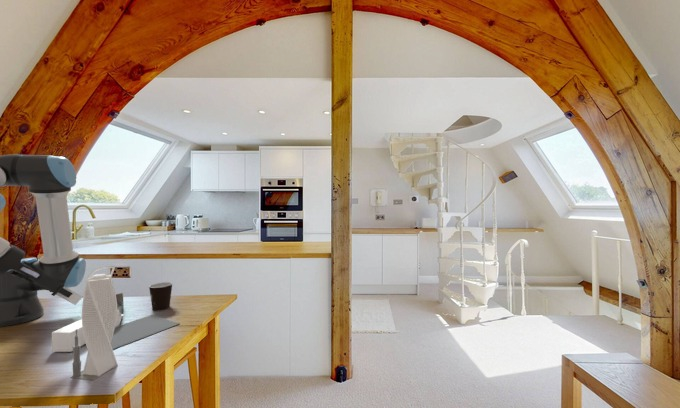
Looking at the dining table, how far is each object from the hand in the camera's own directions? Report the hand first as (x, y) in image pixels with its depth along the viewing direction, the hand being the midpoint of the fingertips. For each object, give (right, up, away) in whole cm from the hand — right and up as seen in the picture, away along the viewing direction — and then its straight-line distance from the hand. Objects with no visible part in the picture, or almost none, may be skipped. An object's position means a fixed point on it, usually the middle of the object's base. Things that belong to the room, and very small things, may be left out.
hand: (78, 300), depth 91 cm
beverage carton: (-12, -16, +29) cm, 35 cm away
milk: (-4, -12, -2) cm, 13 cm away
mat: (+7, -15, +13) cm, 22 cm away
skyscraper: (+15, -16, -11) cm, 25 cm away
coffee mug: (+3, -15, +38) cm, 41 cm away
